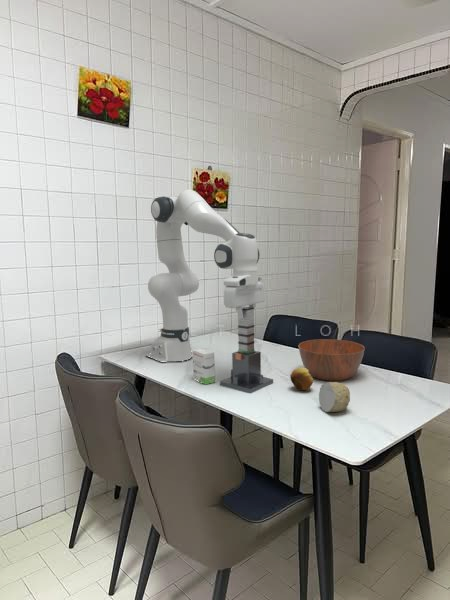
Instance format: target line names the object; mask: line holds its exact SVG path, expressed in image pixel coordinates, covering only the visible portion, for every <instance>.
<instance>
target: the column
mask: <svg viewBox="0 0 450 600" xmlns="http://www.w3.org/2000/svg"><path fill="white" fill-rule="evenodd" d="M242 312H243V313H244V318H242V319H239V318H238V317H237V319H238V322H237V324H238V326H237V328H238V333H237V336H238V349H237V351H238V352H239V353H240V354H244V355H250V354H253V353H254V351H255V309H254V307H250V306H243V309H242Z"/></svg>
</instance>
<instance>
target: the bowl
mask: <svg viewBox="0 0 450 600" xmlns="http://www.w3.org/2000/svg"><path fill="white" fill-rule="evenodd" d="M297 346H298V350H299V355H300V358H301V362H302V364H303V366H304V367H303V368H306V369H308V371H309V374H310V375H311V377H312V378H316V379H318V380H322V381H327V382H328V381H329V382H340V381H345V380H348V379H351V378H353V376H355V375H356V374H357V372H358V370H359V368H360V367H361V364H362V360H363V357H364V354H365V350H366V349H365V346H364V345H363V344H360V343H358V342H355V341H349V340H345V339H335V338H334V339H332V338H331V339H330V338H329V339H328V338H326V339H325V338H324V339H323V338H319V339H309V340H306V341H305V340H304V341H302V342H299V344H298V345H297Z"/></svg>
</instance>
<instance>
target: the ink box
mask: <svg viewBox="0 0 450 600" xmlns="http://www.w3.org/2000/svg"><path fill="white" fill-rule="evenodd" d="M215 362H216V360H215V352H213V351H210V350H207V349H206V348H197V349H192V374H193V375H192V376H193V378H194V379H196V380H198V381H199V382H198V381H197V382H198V383H200V382H202V383H204V384H207V385H210V384H209V383H211V384H214V383H213V382H215V383H216V368H215V367H216V366H215V365H216V363H215ZM202 383H201V384H202ZM204 384H203V385H204Z"/></svg>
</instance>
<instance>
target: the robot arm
mask: <svg viewBox="0 0 450 600" xmlns="http://www.w3.org/2000/svg"><path fill="white" fill-rule="evenodd" d="M150 212H151V216H152V218H153V220H154V221H156V230H155V232H156V233H155V235H156V236H155V237H156V238H155V239H156V244H157V245H156V247H157V255H158V260H159V261H160V262H161V263H162V264H163V265H165V266H166V267H167V270H168V272H164V273H158V274H156V275H153V276H151V277H150V278H149V279H148V283H147V290H148V292H149V294H150V295H151V297H153V298H154V299H155V300H156V301H157V303H158V305H159V307H160V309H161V314H162V315H161V316H162V328H159V331H158V332H161V333H160V335H159V337H158V338H156V339H155V340H154V341H153V342H152V343H151V345H150V352H147V353H146V354H145V356H146V355H147V356H150V357H152V358H154V359H157V360H159V361H182V360H187V359H190V358H191V357H192V358H193V351H192V349H191V343H190V338H189V336H190V327H189V321H188V320H189V319H188V310H187V308H186V307H185V306H183V305H181V303H180V300H179V297H183V296H189V295H192V294H194V293H195V292H197V291H198V289H199V285H200V281H199V277H198V275H196V274H195V273H194V271H192V270H191V269H190V267H189V265H188V263H187V261H186V258H185V253H184V247H183V245H184V244H183V239H182V230H181V228H182V226H183V224H184V225H185V226H189V227H190V228H191V229H193V230H194V231H195V232H198V233H202V234H207V235H212V236H216V237H219V238H222V239H223V240H225V242H223V243H219V244H218V245H217V246H216V248H215V249H214V252H213V253H214V254H213V257H214V258H213V259H214V262H215V264H216V266H217V267H218V268H220V269H224V270H229V269H230V270H232V273H233V274H231V275H229V276H228V277H227V278H225V279H224V280H223V286H224V289H223V304H224V306H225V308H227V309H235V310H236V313H237V319H238V318H239V319H242V318H244V313H243V312H242V309H243V307H247V306H248V307H254V310H255V309H256V304H260V303H264V302H266V301H265V300H266V289H265V288H266V287H265V284H264V280H263V279H262V278H261V277H259V269H258V265H257V264H259V263H258V262H259V260H260V256H261V255H260V250H259V247H258V241H257V237H256V236H255V235H254V234H251V233H244V232H240V231H239V230H238V229H237V228H235V226H233V225H232V223H231V222H229V221H228V220H227V219H225V217H223V216H222V215H220V214H219V213H218V212H216V210H214V209H213V208H212V207H211V206H210V204H208V203H207V201H206V200H205V199H204V198H203V197H202V196H201V195H200V194H199V193H198V192H197V191H195V190H193V189H184V190H183V191H181V192H180V193H179V195H174V196H158V197H156V198H155V199H153V201H152V203H151V205H150ZM149 353H151V354H149ZM190 360H191V359H190ZM187 361H188V360H187ZM182 362H183V361H182Z"/></svg>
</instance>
